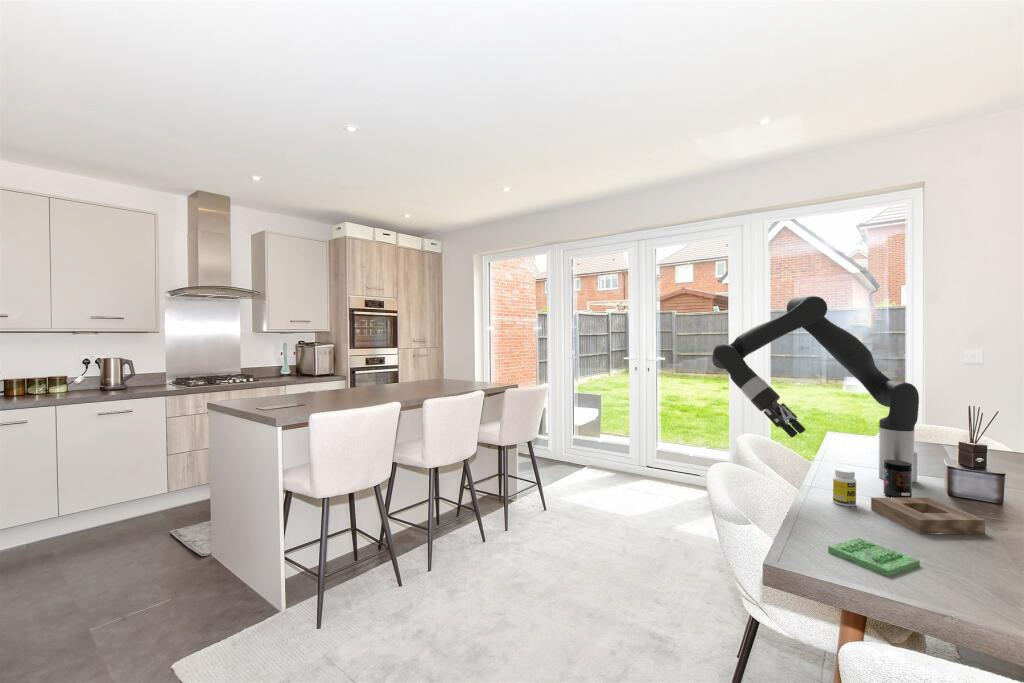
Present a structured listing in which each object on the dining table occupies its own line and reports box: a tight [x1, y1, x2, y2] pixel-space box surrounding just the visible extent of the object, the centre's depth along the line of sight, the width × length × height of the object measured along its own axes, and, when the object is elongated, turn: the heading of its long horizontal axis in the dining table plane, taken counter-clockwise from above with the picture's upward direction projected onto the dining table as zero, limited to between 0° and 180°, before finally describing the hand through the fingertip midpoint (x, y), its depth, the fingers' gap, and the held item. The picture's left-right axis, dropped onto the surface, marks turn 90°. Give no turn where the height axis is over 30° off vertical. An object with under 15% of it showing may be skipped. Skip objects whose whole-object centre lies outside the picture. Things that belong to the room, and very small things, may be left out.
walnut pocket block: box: [870, 497, 986, 535], centre depth 124 cm, size 16×16×4 cm
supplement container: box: [883, 460, 913, 498], centre depth 143 cm, size 7×7×10 cm
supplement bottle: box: [832, 467, 857, 507], centre depth 137 cm, size 6×6×10 cm
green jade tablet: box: [827, 537, 921, 578], centre depth 104 cm, size 11×12×2 cm
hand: (799, 433), depth 145 cm, fingers open, 8 cm apart
